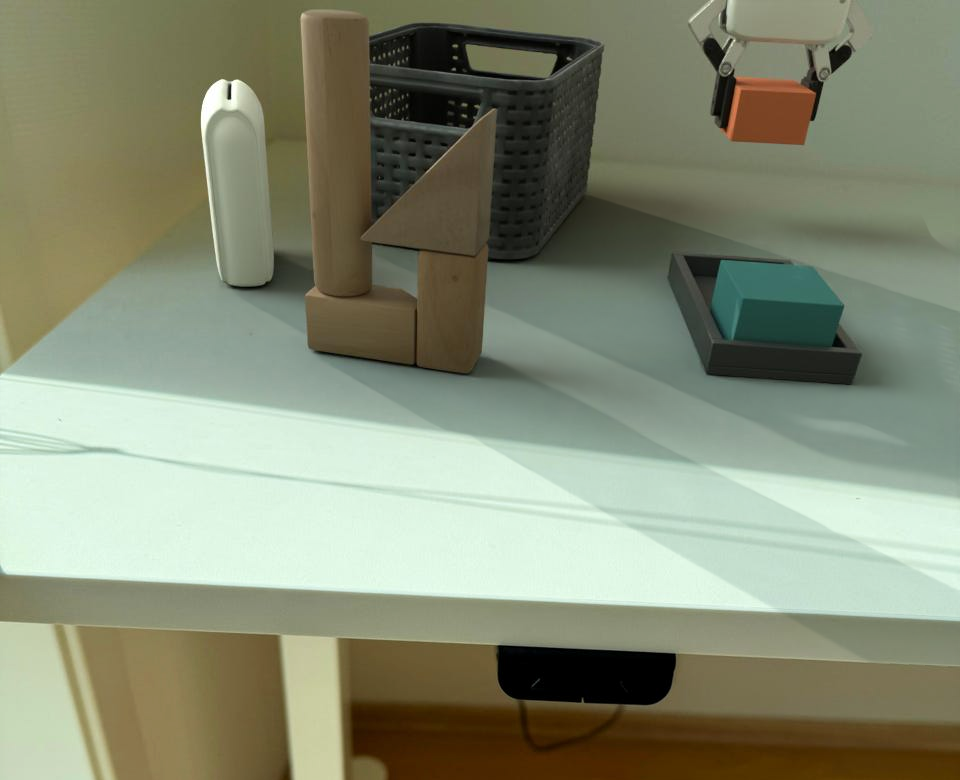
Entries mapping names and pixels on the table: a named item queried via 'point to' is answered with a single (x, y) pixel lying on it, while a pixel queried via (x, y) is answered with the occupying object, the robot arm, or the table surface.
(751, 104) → the orange block
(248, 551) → the table surface
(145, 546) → the table surface
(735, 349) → the frame
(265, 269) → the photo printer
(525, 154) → the storage bin
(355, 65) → the wooden block
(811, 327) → the teal block
